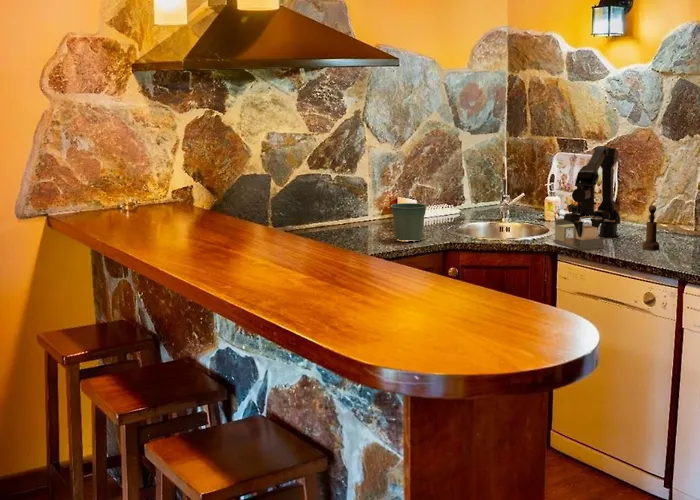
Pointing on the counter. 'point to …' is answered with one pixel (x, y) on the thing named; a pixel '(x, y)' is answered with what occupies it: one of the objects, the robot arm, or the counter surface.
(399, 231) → the flower pot
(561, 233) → the cover
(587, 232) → the collar
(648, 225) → the brown pedestal figurine
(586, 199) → the robot arm
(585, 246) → the housing base
